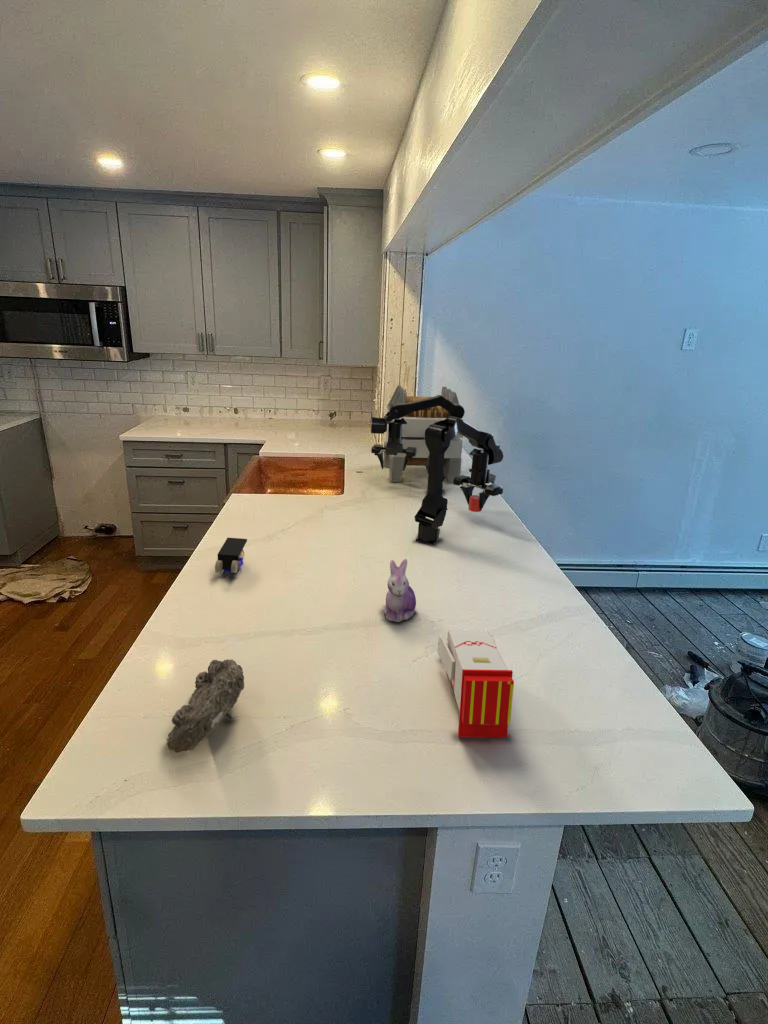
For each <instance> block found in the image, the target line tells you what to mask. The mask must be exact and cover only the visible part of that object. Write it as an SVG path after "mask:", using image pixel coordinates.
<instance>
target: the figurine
mask: <svg viewBox="0 0 768 1024" xmlns="http://www.w3.org/2000/svg"><path fill="white" fill-rule="evenodd" d="M407 567H408V559H406V558H404V559H403V560H402V561H401V563H400V565H399V566H398V565H397V563H396V562H395V561H394V560H393V559H391V560H390V561H389V570H390V576H389V578H388V579H387V589H388V591H387V592H386V594H385V595H386V596H385V607H384V615H385V616H386V620H387V621H391V622H395V623H400V622H402V621H406V620H409V619H410V618H411V617H413V616H414V615H415V610H416V606H417V597H416V593H415V591H414V590H413V587H411V586H410V582H409V579H408V577H407V574H406V571H407Z"/></svg>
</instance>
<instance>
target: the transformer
mask: <svg viewBox="0 0 768 1024" xmlns="http://www.w3.org/2000/svg"><path fill="white" fill-rule="evenodd" d="M440 393H441V394H440V395H442V396H443V397H444V398H445V399H447V400H449V401H450V402H452V403H458V404H460V402H459V398H458V395H457V392H455V391H453V390H452V389H451V388H447V386H442V387H441V392H440ZM407 394H408V393H407V390H406V389H404V388H403V387H402V385H399V384H398V385H397V386H396V388H395V390H394V392H393V394H392V395H391V398H390V400H389V402H388V404H387V405H386V413H385V415H386V414H387V413H388V411H389V407H390V405H391V404H393V403H409V402H414V401H418V400H422V399H426V398H430V397H431V396H415V395H414V396H413V395H412V396H411V395H407ZM447 413H448V411H447V410H445V409H444V408H442V407H441V406H436V407H431V408H427V409H423V410H419V411H415V412H412V413H410V414H408V415H406V416H404V417H402V418H404V420H405V421H406V422H407V424H402V439H401V444H403V449H407V447H416V449H417V454H416V456H415V457H412V458H409V460H408V463H407V465H406V467H407V466H411V467H412V466H413V467H415V466H416V467H417V466H418V467H425V466H426V465H425V463H426V461H427V458H428V455H429V450H428V448H427V446H426V444H425V430H426V429H427V428H428V426H429V425H431V424H434V423H435V422H438V421H441V420H445V419H446V418H447ZM402 418H399V419H402ZM462 420H463V421H464V422H466V421H465V419H464V418H462ZM392 421H394V420H392ZM388 427H389V424H387V431H386V432H385V438H384V442H383V447H386V444H387V441H388ZM463 438H464V436H462V435H461V434H459V433H457V435H456V437H454V438H453V439H452V440H451V441H450V446H449V447H448V449H447V450H446V452H445V454H444V469H443V474H444V476H445V479H444V480H445V481H446V482H447V483H449V484H453V479H454V478H455V477H456V476H460V475H462V474H461V472H462V461H463V460H462V453H463V442H464V441H463V440H462V439H463ZM405 456H406V453H398V454H397V455H387V454H386V452H383V460H384V467H388V468H389V475H388V476H389V477H388V478H389V480H390V482H391V483H402V482H403V475H404V471H403V467H404V461H405Z"/></svg>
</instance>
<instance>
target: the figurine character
mask: <svg viewBox="0 0 768 1024" xmlns="http://www.w3.org/2000/svg"><path fill="white" fill-rule="evenodd" d="M247 542H248V538H240V537H226V539H225V541H224V543H223V544H222V546H221V547H220V549H219V551H218V552H217V560H216V562H215V564H214V572H215V573H221V577H222V578H224V577H225V576H226V574H227V573H230V574H231V573H232V574H231V578H234V577H235V575H236V573H237V572H239V571H240V567H242V566H243V565H244V564H245V562H244V558H245V551H244V547H245V546H246V544H247Z"/></svg>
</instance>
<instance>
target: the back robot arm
mask: <svg viewBox="0 0 768 1024" xmlns="http://www.w3.org/2000/svg"><path fill="white" fill-rule="evenodd" d="M429 397H430V398H426V399H422V400H418V401H414V402H409V403H393V404H391V405H390V407H389V411H388V413H387V414H386V413H385V414H384V416H383V417H377V416H371V420H370V421H371V423H370V434H376V435H378V434H379V435H380V434H381V435H384V434H385V433H386V431H387V424H389V427H388V441H387V444H386V447H384V444H379V443H374V444H373V445H372V446H371V451H370V452H371V454H374V456H376V457H377V458H378V461H379V465H380V468H381V470H384V467H385V466H384V452H386V454H387V455H397V454H398V453H406V456H405V461H404V467H403V472H405V470H406V467H407V463H408V460H409V458H412V457H415V456H416V454H417V449H416V447H407V449H403V444H401V439H402V424H407V422H406V421H405V420H404V418H402V417H404V416H406V415H408V414H410V413H412V412H415V411H419V410H423V409H427V408H431V407H436V406H441V407H442V408H444V409H445V410H447V411H448V413H447V418H448V417H451V416H452V417H457V418H461V419H464V417H465V413H466V411H465V408H464V407H463V406H462V405H461V404H460V403H459V404H458V403H452V402H450V401H449V400H447V399H445V398H444V397H443V396H442V395H441V394H436V395H435V396H429ZM399 418H402V419H399ZM392 420H394V421H392ZM449 429H450V428H449ZM425 465H426V466H424V467H425V470H426V473H427V474H428V469H429V455H428V458H427V461H426V463H425ZM445 480H446V479H445V476H444V474H443V482H444V481H445ZM444 490H445V489H444V484H443V485H442V495H443V496H444V492H445V491H444Z"/></svg>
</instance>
